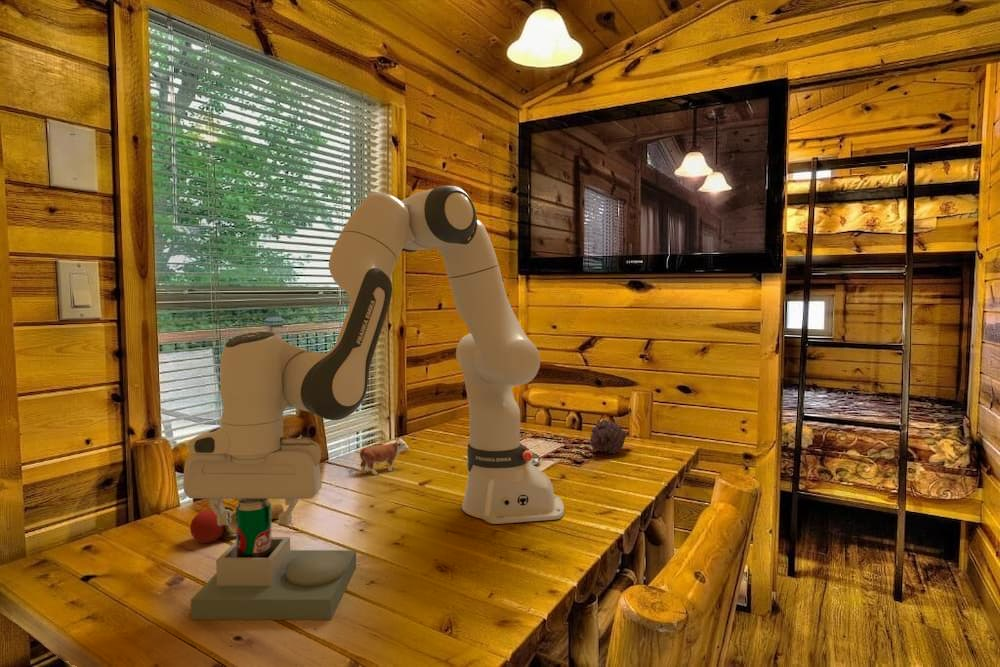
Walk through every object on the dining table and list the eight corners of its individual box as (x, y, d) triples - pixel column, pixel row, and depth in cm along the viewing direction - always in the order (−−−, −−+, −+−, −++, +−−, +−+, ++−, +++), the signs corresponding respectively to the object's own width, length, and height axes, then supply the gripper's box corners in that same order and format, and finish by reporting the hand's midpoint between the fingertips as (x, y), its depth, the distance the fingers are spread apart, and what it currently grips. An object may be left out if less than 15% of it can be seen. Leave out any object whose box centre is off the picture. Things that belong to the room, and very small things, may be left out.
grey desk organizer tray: (356, 567, 100) (356, 527, 99) (331, 619, 84) (330, 572, 83) (239, 567, 99) (238, 527, 99) (191, 619, 83) (190, 572, 83)
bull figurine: (410, 469, 155) (410, 439, 155) (362, 477, 148) (362, 446, 147) (403, 465, 159) (403, 435, 158) (356, 473, 151) (356, 442, 151)
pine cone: (605, 463, 163) (606, 428, 162) (576, 456, 169) (576, 423, 169) (636, 450, 176) (636, 418, 175) (607, 445, 183) (608, 413, 182)
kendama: (265, 518, 124) (179, 534, 110) (272, 490, 124) (186, 502, 109) (285, 534, 120) (198, 553, 105) (292, 505, 119) (205, 520, 105)
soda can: (259, 583, 88) (257, 505, 87) (229, 579, 89) (228, 502, 88) (278, 567, 93) (277, 494, 92) (250, 564, 94) (249, 491, 93)
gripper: (326, 432, 93) (327, 516, 94) (197, 432, 93) (199, 516, 94) (314, 443, 87) (315, 532, 88) (176, 442, 86) (179, 532, 87)
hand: (254, 524), depth 91 cm, fingers open, 8 cm apart
